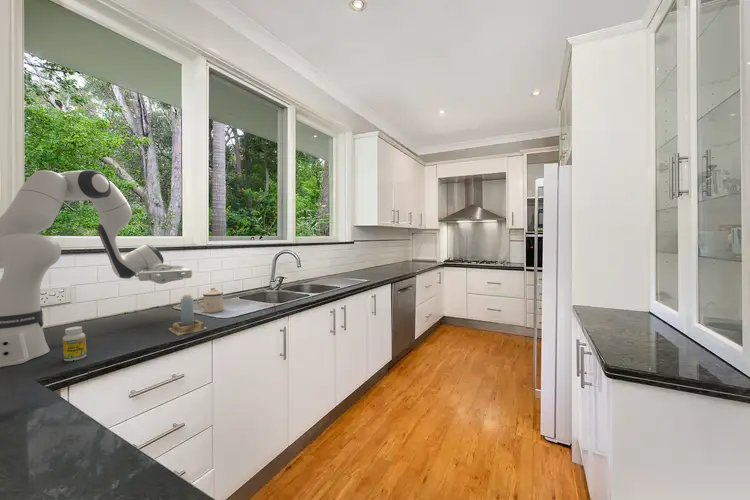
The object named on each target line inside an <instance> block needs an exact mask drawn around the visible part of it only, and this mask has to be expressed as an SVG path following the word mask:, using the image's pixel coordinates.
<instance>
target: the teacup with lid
mask: <svg viewBox="0 0 750 500" xmlns="http://www.w3.org/2000/svg"><path fill="white" fill-rule="evenodd" d="M223 297H224V292H223V291H221V290H219V289H216V287H213V286H212V287H211V288H210V289H208V290H207V291H205V292H203V294H202V296H201V297H200V296H199V297H198V298H197V299H196V305H197V306H198V307H199V308H203V312H204V313H208V314H210V313H211V314H212V313H213V314H214V313H220V312H222V311H223V310H224V298H223ZM199 300H203V305H201V304H199Z"/></svg>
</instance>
